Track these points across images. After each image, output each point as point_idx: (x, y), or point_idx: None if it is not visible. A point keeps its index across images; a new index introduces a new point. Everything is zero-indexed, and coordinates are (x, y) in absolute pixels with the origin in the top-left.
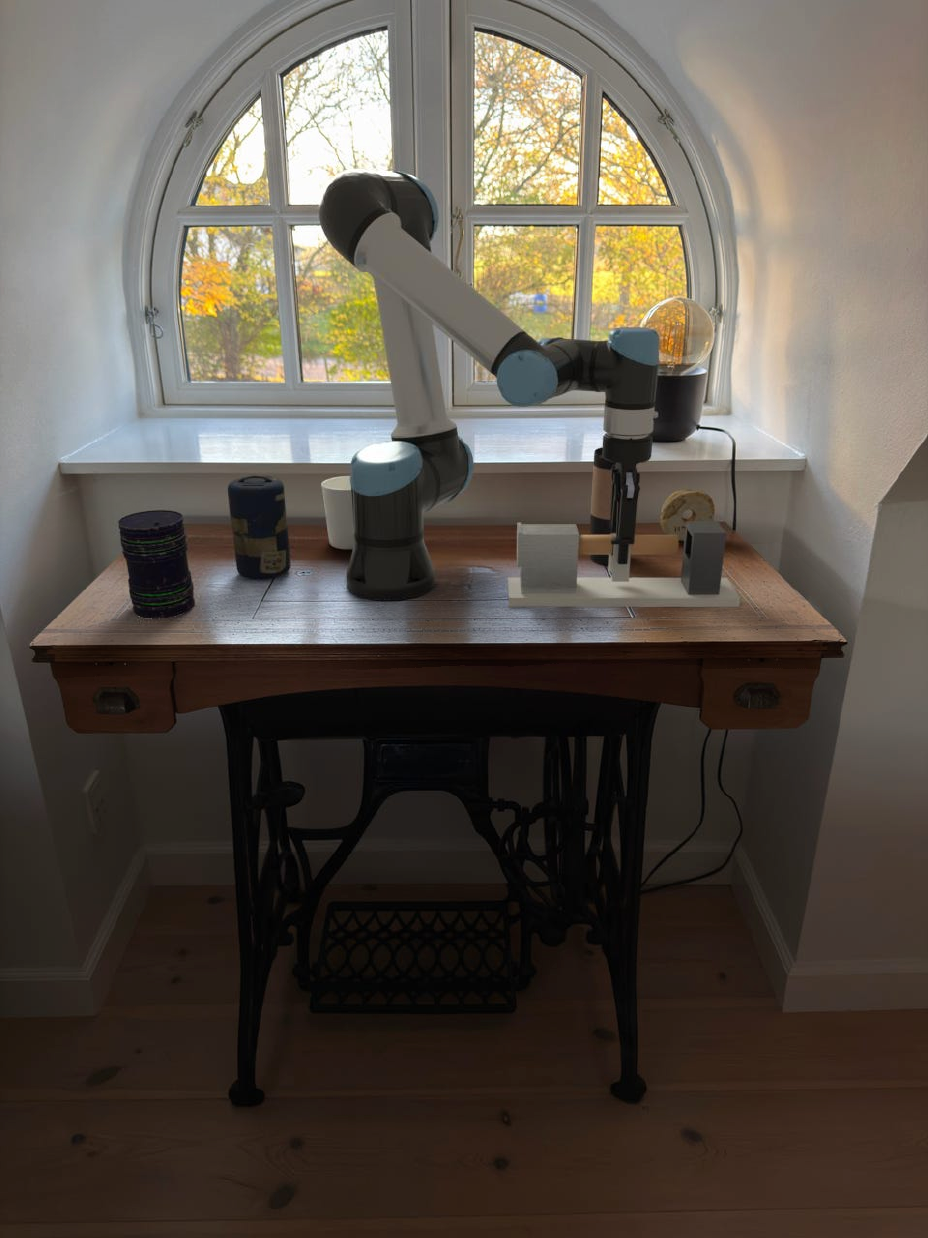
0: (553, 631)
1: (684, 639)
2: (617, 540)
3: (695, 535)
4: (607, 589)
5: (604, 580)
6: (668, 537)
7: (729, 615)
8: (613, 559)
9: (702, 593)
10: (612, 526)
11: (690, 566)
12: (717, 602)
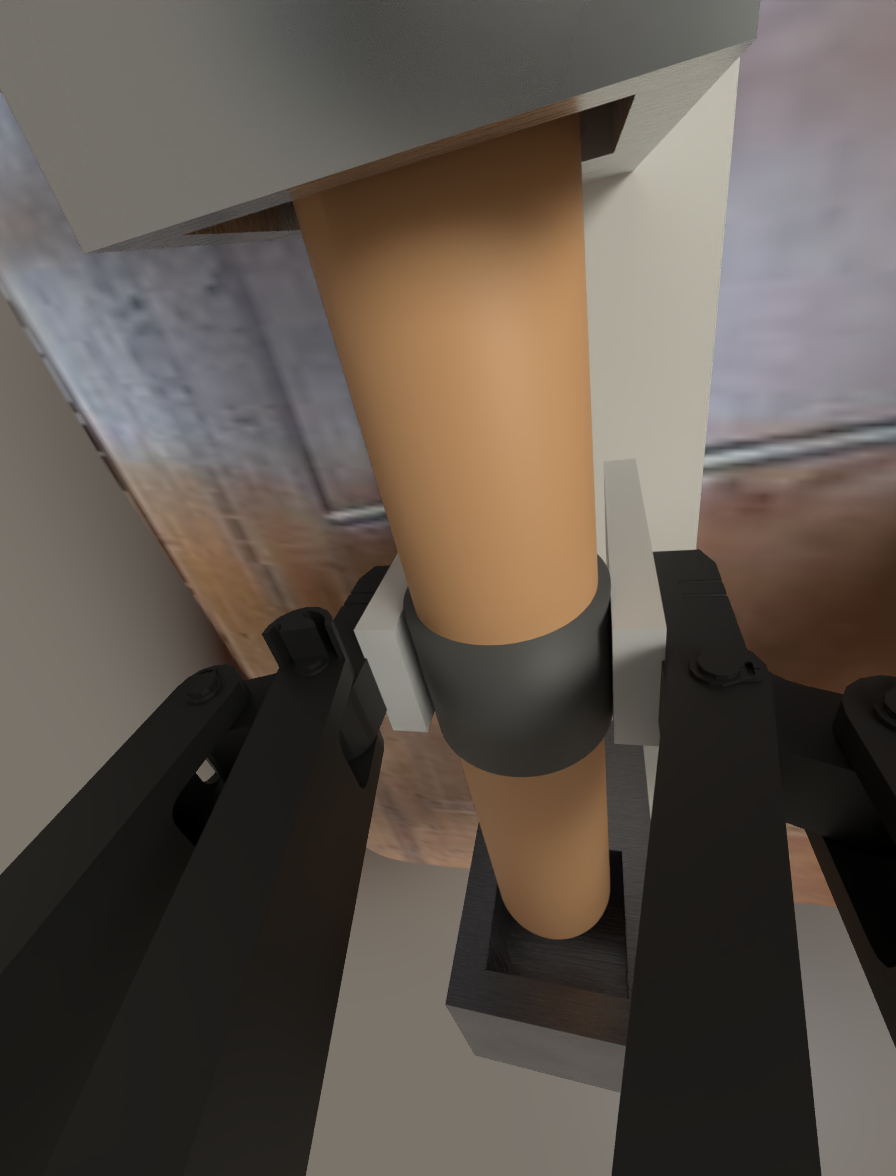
0: (25, 142)
1: (236, 639)
2: (189, 686)
3: (448, 988)
4: None
5: (654, 412)
6: (517, 901)
7: (433, 756)
8: None
9: None
10: (667, 703)
11: None
12: None
